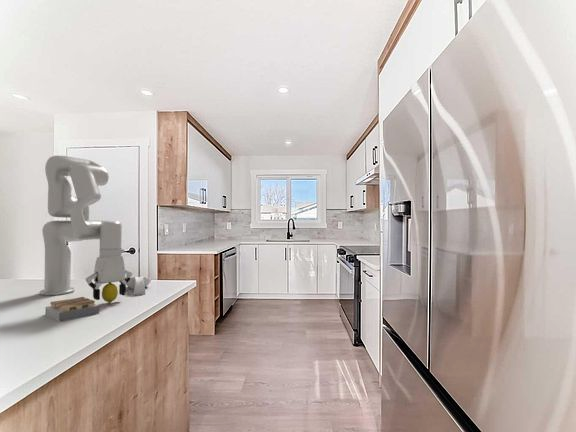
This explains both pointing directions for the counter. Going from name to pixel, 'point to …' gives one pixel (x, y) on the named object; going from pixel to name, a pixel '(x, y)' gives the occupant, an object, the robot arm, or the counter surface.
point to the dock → (71, 312)
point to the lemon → (109, 292)
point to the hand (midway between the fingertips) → (109, 297)
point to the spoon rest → (138, 284)
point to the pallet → (72, 304)
